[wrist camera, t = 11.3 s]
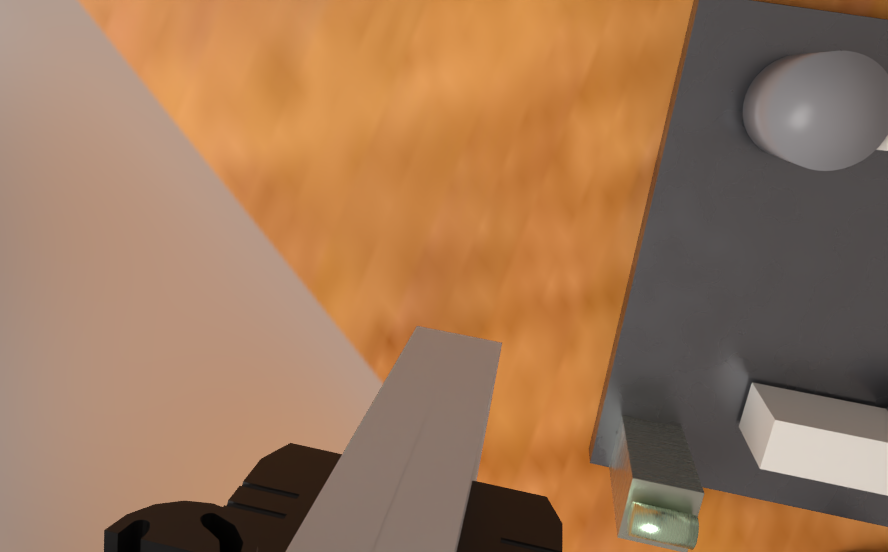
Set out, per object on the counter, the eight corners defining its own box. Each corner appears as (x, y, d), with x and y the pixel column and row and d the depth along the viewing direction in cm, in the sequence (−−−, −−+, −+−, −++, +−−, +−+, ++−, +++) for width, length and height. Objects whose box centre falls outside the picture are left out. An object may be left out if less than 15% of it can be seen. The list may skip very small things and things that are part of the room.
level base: (694, -3, 32) (740, -31, 24) (1077, 51, 31) (1273, 42, 22) (589, 448, 39) (596, 552, 31) (900, 514, 37) (998, 643, 29)
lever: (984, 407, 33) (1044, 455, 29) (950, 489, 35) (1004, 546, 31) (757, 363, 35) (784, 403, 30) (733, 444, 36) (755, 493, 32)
